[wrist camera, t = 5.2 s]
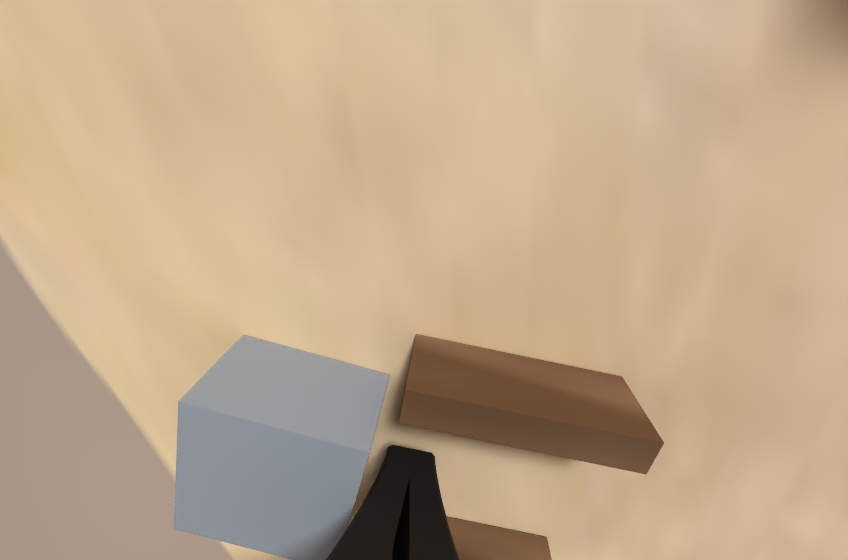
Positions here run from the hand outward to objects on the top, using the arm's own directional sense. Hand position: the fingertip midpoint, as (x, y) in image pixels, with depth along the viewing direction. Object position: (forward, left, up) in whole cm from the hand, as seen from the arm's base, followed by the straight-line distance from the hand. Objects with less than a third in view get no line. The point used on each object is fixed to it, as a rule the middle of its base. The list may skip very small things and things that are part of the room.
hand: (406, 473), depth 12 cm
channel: (0, -2, -1) cm, 3 cm away
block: (0, +3, -1) cm, 4 cm away
